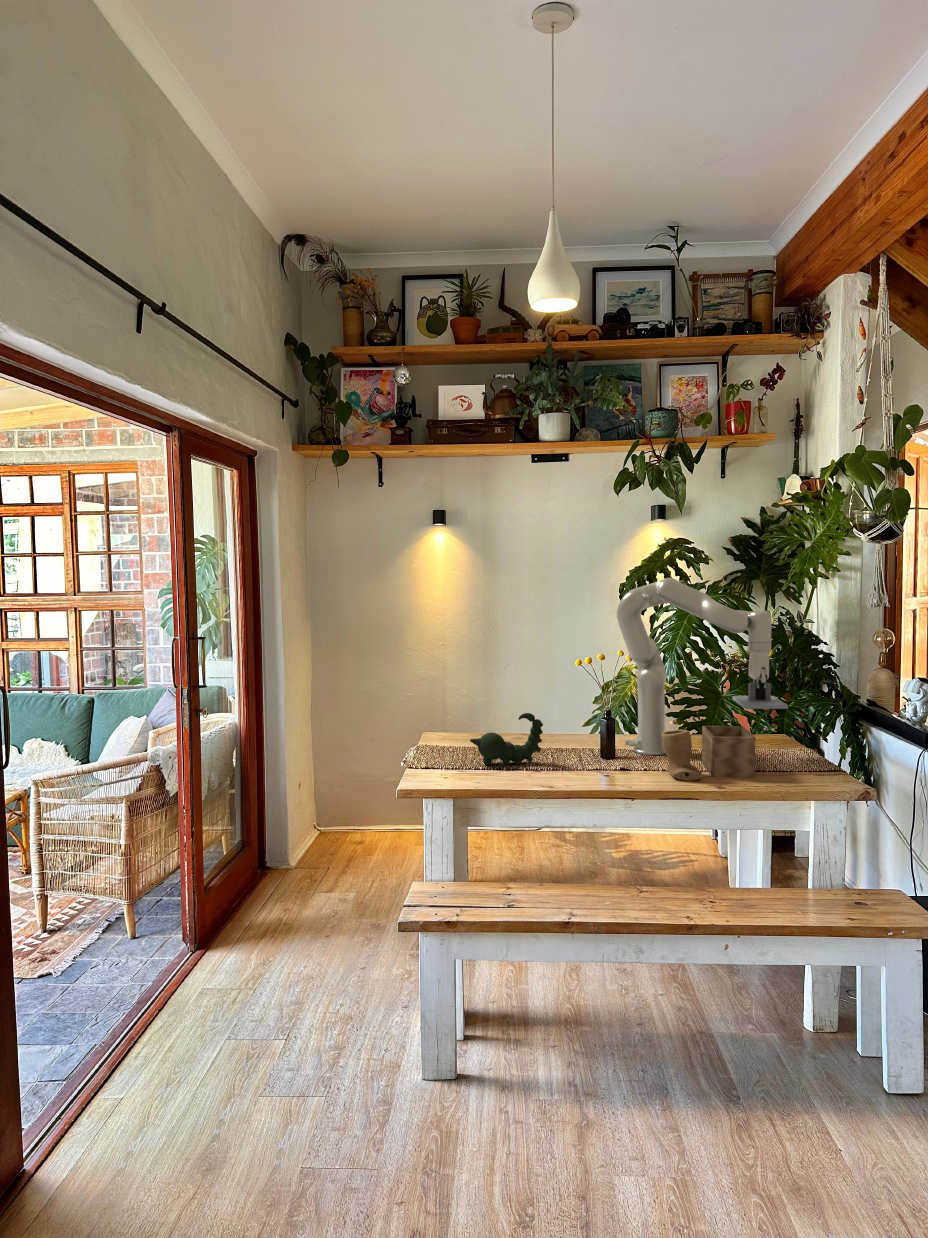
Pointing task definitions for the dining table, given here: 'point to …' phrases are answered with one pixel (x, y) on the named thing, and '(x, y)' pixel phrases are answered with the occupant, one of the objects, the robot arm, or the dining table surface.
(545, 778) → the dining table surface
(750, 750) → the crate
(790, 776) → the dining table surface
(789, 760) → the dining table surface
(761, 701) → the lid
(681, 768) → the tan boot
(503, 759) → the toy figurine
